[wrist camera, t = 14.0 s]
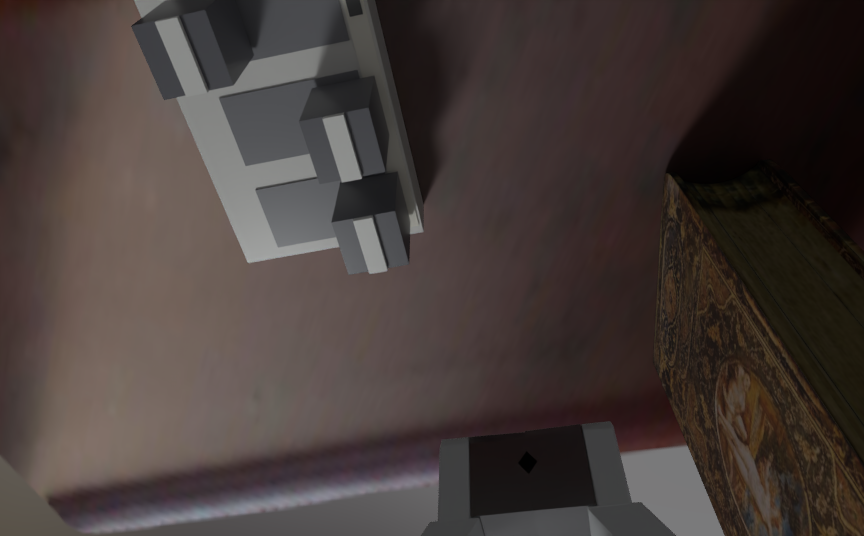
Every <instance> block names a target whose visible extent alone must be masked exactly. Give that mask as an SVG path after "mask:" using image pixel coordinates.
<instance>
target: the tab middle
mask: <svg viewBox="0 0 864 536" xmlns="http://www.w3.org/2000/svg"><path fill="white" fill-rule="evenodd" d="M299 124H300V127H301V130H302V133H303V136H304V139H305V142H306V145H307V148H308V151H309V154H310V157H311V160H312V163H313V166H314V169H315V172H316V175H317V178H318V181H319V184H324V183H329V182H335V181H340V180H341V181H342V183H343V182H348V181H353V180H359V179H362V176H367V175H372V174H377V173H382V172H386V163H387V153H388V144H389V131H388V127H387V123H386V119H385V116H384V112H383V108H382V104H381V100H380V96H379V92H378V88H377V84H376V80H375V76H370V77H365V78H360V79H355V80H350V81H345V82H340V83H335V84H330V85H325V86H320V87H316V88H312V89H311V92H310V94H309V97H308V99H307V102H306V105H305V107H304V110H303V112H302V115H301V117H300V120H299Z"/></svg>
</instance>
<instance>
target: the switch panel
mask: <svg viewBox="0 0 864 536" xmlns="http://www.w3.org/2000/svg"><path fill="white" fill-rule="evenodd" d="M134 1H135V4H136V6H137V8H138V10H139V13H140V15H141V17H142V18H143V17H144V16H145V15H147V14H148V13H149V12H150V11H152V10H153V9H154V8H156V7H157V6H158V5H160V4H161V3H162V2H164V1H167V0H134ZM235 2H236V5H237V8H238V10H239V13H240V16H241V19H242V22H243V25H244V28H245V30H246V33H247V36H248V39H249V42H250V45H251V47H252V50H253V53H254V56H253V58H252V59H251V61H250V62H249V64H248V65H247V67H246V68H245V70H244V71H243V72H242V74H241V75H240V77H239V78H238V80H237V81H236V83H235V84H234V86H229V87H224V88H219V89H214V90H210V91H208V93H204V94H199V95H194V96H189V97H186V95H185V96H181V97H176V98H177V100H178V103H179V105H180V107H181V110H182V112H183V114H184V117H185V119H186V121H187V123H188V126H189V128H190V130H191V133H192V135H193V137H194V140H195V142H196V144H197V146H198V149H199V151H200V153H201V156H202V158H203V160H204V163H205V165H206V167H207V170H208V172H209V174H210V176H211V179H212V181H213V183H214V186H215V188H216V190H217V193H218V195H219V197H220V200H221V202H222V204H223V206H224V209H225V211H226V213H227V216H228V218H229V220H230V223H231V225H232V227H233V230H234V232H235V234H236V236H237V239H238V241H239V243H240V246H241V248H242V250H243V253H244V255H245V257H246V259H247V262H248V263H251V262H257V261H262V260H268V259H274V258H279V257H285V256H290V255H296V254H302V253H307V252H313V251H319V250H324V249H330V248H336V247H339V244H338V241H337V238H336V235H335V232H334V229H333V226H332V223H331V222H332V217H333V213H334V208H335V204H336V199H337V195H338V190H339V186H340V182H342V181H341V180H340V181H335V182H329V183H324V184H319V181H318V178H317V175H316V172H315V169H314V166H313V163H312V160H311V157H310V154H309V151H308V148H307V145H306V142H305V139H304V136H303V133H302V130H301V127H300V124H299V120H300V117H301V115H302V112H303V110H304V107H305V105H306V102H307V99H308V97H309V94H310V92H311V89H312V88H316V87H320V86H325V85H330V84H335V83H340V82H345V81H350V80H355V79H360V78H365V77H370V76H375V80H376V84H377V88H378V92H379V96H380V100H381V104H382V108H383V112H384V116H385V119H386V123H387V127H388V131H389V144H388V153H387V163H386V172H382V173H377V174H372V175H367V176H362V178H366V177H371V176H376V175H382V174H387V173H392V172H398V175H399V179H400V182H401V186H402V190H403V194H404V198H405V202H406V206H407V210H408V214H409V218H410V234H415V233H420V232H424V204H423V200H422V196H421V192H420V187H419V183H418V179H417V175H416V171H415V166H414V162H413V158H412V154H411V150H410V145H409V141H408V137H407V133H406V129H405V124H404V120H403V116H402V112H401V108H400V103H399V99H398V95H397V91H396V87H395V82H394V78H393V74H392V70H391V66H390V61H389V57H388V53H387V49H386V45H385V40H384V36H383V32H382V28H381V24H380V19H379V15H378V11H377V7H376V3H375V0H235Z"/></svg>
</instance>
